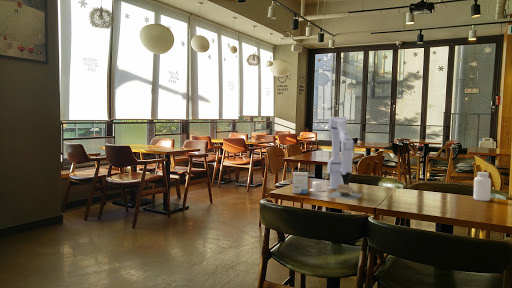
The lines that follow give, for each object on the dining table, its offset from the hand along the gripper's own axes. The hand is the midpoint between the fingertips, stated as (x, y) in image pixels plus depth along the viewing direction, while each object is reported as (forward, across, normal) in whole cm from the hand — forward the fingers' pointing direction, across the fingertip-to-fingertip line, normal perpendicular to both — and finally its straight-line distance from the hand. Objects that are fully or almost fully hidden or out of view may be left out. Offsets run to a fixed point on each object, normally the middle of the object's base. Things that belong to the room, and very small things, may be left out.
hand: (346, 185), depth 217 cm
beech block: (+3, -1, 0) cm, 3 cm away
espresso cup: (+6, -6, -19) cm, 21 cm away
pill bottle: (+6, -28, +68) cm, 74 cm away
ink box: (+6, +5, -25) cm, 27 cm away
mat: (+6, +2, 0) cm, 6 cm away
